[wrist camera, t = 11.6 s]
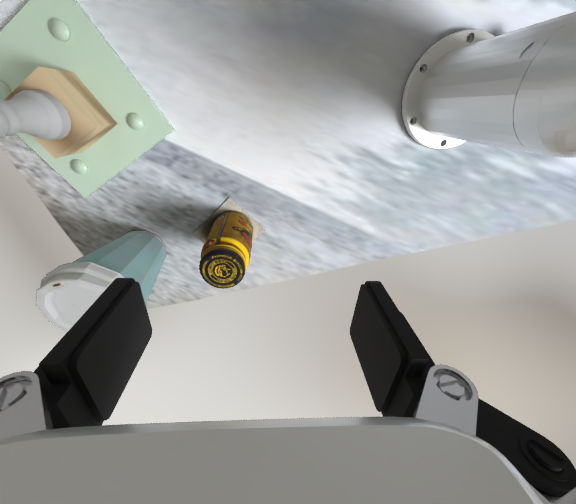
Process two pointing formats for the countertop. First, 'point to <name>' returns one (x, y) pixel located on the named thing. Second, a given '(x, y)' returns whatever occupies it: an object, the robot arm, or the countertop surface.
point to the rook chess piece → (34, 116)
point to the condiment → (226, 244)
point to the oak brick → (70, 110)
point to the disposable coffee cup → (99, 276)
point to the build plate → (93, 74)
